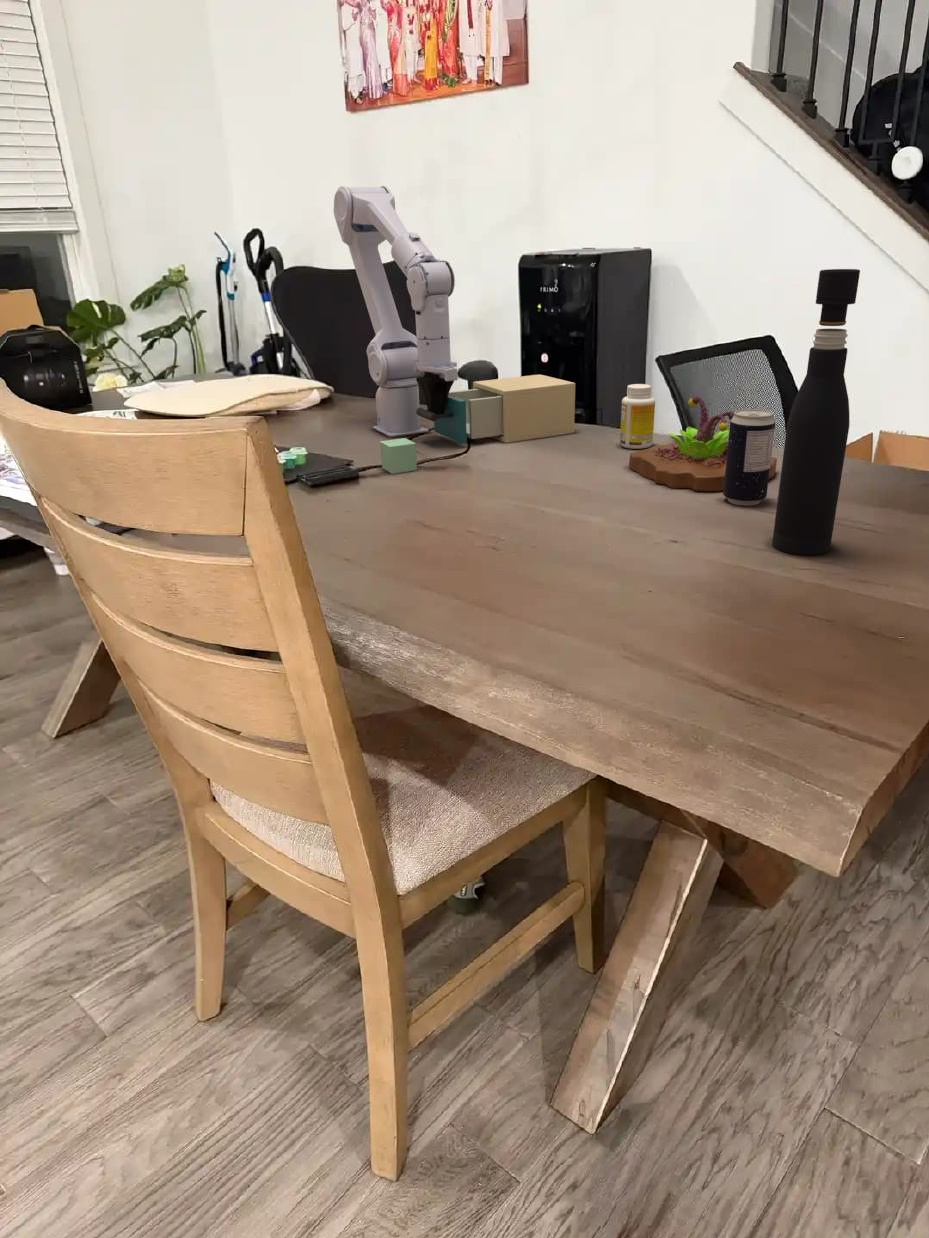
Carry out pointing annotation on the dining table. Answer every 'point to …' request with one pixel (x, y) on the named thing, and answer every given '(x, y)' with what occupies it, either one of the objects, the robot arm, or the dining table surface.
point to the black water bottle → (817, 429)
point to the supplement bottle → (637, 417)
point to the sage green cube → (398, 455)
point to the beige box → (533, 406)
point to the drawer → (468, 415)
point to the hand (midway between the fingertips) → (436, 417)
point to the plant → (691, 456)
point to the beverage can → (749, 456)
